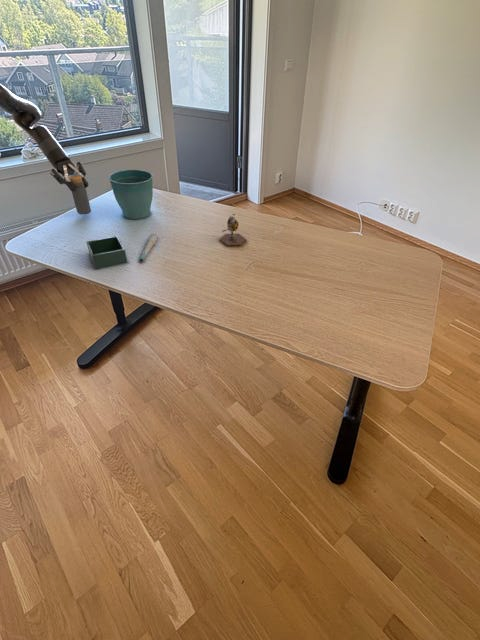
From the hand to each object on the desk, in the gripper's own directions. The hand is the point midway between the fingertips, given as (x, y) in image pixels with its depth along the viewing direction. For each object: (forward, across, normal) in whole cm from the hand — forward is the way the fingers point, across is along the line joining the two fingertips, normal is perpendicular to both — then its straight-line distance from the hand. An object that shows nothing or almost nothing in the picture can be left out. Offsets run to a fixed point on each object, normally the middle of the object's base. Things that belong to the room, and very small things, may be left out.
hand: (80, 188), depth 146 cm
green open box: (+33, -19, -16) cm, 41 cm away
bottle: (+7, 0, +9) cm, 11 cm away
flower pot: (+19, +15, -2) cm, 25 cm away
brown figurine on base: (+54, +20, -37) cm, 68 cm away
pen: (+39, -6, -21) cm, 44 cm away
